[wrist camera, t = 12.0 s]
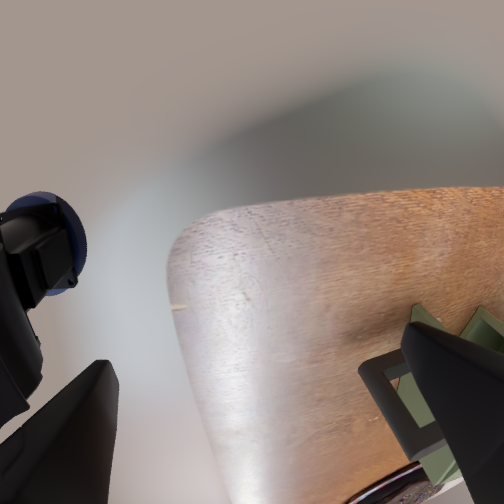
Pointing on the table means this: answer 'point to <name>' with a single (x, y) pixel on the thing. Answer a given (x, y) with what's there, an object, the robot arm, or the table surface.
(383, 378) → the cupboard door
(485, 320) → the cupboard
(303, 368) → the table surface
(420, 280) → the table surface
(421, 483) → the chocolate cake
